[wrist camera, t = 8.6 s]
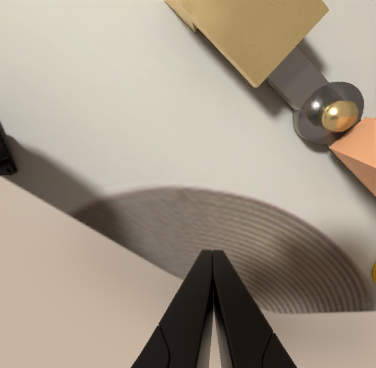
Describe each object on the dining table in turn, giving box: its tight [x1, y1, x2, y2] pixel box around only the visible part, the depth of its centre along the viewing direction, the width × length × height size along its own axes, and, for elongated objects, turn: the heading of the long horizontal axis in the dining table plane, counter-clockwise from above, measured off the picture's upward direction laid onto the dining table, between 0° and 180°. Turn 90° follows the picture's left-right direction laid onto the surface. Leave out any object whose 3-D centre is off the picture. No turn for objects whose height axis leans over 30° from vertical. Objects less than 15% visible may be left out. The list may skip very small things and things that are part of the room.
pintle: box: [317, 101, 358, 132], centre depth 14 cm, size 2×2×1 cm
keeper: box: [164, 0, 329, 88], centre depth 12 cm, size 9×5×4 cm, turn 49°
